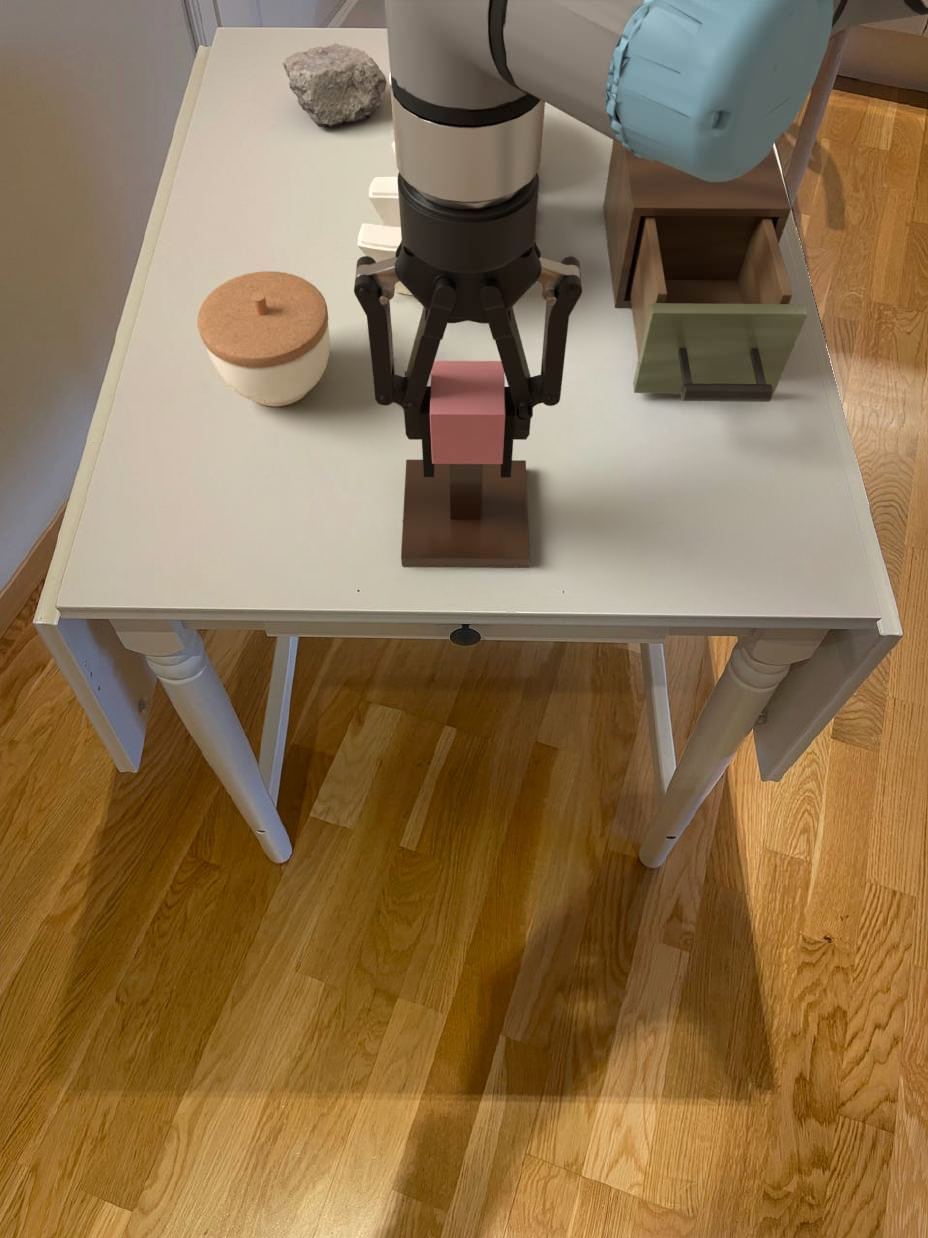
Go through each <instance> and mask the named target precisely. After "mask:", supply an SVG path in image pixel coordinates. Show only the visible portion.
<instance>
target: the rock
mask: <svg viewBox="0 0 928 1238" xmlns="http://www.w3.org/2000/svg"><path fill="white" fill-rule="evenodd" d="M282 65H283V68H284V70H285V73H286V76H287V77H288V79H289V84H288V85H289V89H290V90H291V91H292V93H293V94H294V95H295V96H296V97H297V103H298V105H299V106H300V107H301V108H302V110H303V111H304V112H306V113H307V114H308V115H309V117H310V119H311V120H312V121H313V122H314V124H315V125H316V126H317V127H319V128H323V127H324V124H325V125H328V126H329V127H336V126H339V125H345V124H347V123H359V122H361V121H363V120H365V119H370V118H371V114H373V113H375V111H377V110H378V109H379V108H381V107H382V106H383V105H384V102H385V98H386V88H387V84H388V82H387V78H386V75H385V74H384V72H383V70H381V69H380V67H379V65H378V64H377V63H376V61H374V59H373V58H372V57H371V56H369V54H368V53H366V51H364V50H361V49H359V48H356V47H352V46H347V45H343V44H339V43H337V42H333V43H330V44H328V45H326V46H316V47H312V48H308V49H307V50H306V51H297V52H294V53H292V54H291V55H289V56H288V57H285V59H284V60H283V61H282ZM365 121H366V120H365Z"/></svg>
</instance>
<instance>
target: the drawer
mask: <svg viewBox="0 0 928 1238" xmlns="http://www.w3.org/2000/svg"><path fill="white" fill-rule="evenodd" d="M788 277H789V276H788V274H787V270H786V266H785V263H784V259H783V256H782V252H781V247H780V243H779V244H778V240H777V237H776V233H775V229H774V226H773V222H772V218H771V217H735V216H641V219H640V224H639V229H638V234H637V239H636V245H635V250H634V255H633V260H632V265H631V270H630V275H629V280H628V283H629V290H630V298H631V306H632V308H631V312H632V320H633V328H634V334H635V343H636V350H637V359H638V360H637V364H636V369H635V373H634V377H633V382H632V387H633V393H635V394H680V399H681V401H682V402H712V403H713V402H721V403H723V402H724V403H725V402H727V403H729V402H730V403H731V402H732V403H769V402H770V401H771V400H772V397H773V395H774V394H775V392H776V390H777V388H778V385H779V383H780V381H781V379H782V375H783V374H784V371H785V370H786V369H785V368H786V367H787V365H788V362H789V359H790V357H791V354H792V352H793V350H794V347H795V345H796V342H797V340H798V338H799V336H800V333H801V331H802V329H803V326H804V325H805V324H804V323H805V321H806V319H807V316H808V310H807V308H806V307H807V306H806V304H804V303H790V302H791V299H792V297H793V292H792V288H791V285H790V281H789V278H788Z"/></svg>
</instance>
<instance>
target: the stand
mask: <svg viewBox="0 0 928 1238" xmlns="http://www.w3.org/2000/svg"><path fill="white" fill-rule="evenodd" d="M404 475H405V476H404V477H405V478H404V493H403V513H402V532H401V534H402V535H401V549H400V561H401V562H400V563H401V566H402V567H442V568H443V567H446V568H447V567H448V568H451V567H454V568H457V567H458V568H461V567H462V568H529V565H530V539H529V537H530V536H529V535H530V534H529V512H528V511H529V509H528V484H527V483H528V482H527V481H528V479H527V478H528V477H527V460H519V459H518V460H517V459H516V460H515V459H512V468H511V478H501V464H434V477H424V469H423V459H406V460H405V474H404Z"/></svg>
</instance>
